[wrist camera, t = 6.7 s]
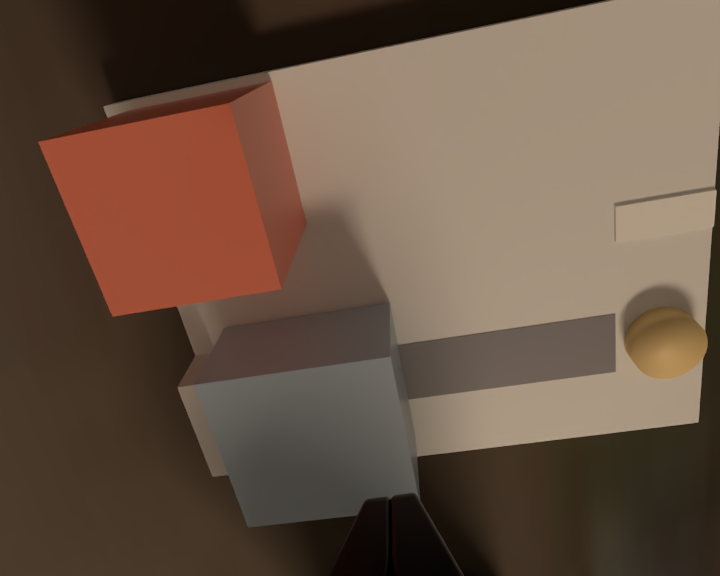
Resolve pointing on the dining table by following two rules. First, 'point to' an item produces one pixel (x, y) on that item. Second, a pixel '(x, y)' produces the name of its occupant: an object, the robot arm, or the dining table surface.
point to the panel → (506, 218)
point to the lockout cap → (183, 199)
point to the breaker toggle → (311, 414)
